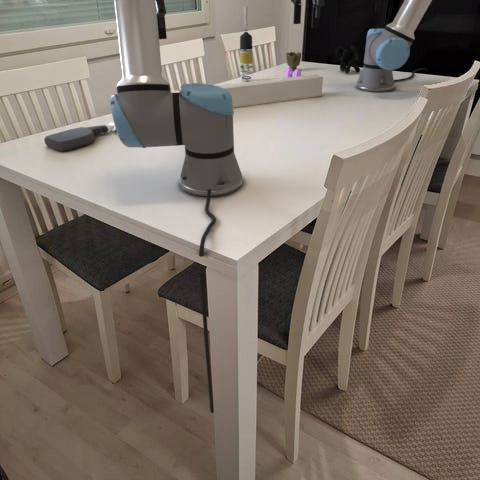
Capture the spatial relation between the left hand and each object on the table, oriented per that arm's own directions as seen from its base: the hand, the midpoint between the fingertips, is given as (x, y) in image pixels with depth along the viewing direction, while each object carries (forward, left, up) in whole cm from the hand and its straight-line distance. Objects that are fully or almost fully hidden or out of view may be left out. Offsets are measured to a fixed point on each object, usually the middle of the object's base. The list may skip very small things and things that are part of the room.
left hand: (157, 36), depth 148 cm
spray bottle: (-31, +11, -26) cm, 42 cm away
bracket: (+59, -35, -26) cm, 73 cm away
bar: (+19, -21, -26) cm, 38 cm away
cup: (+86, -26, -26) cm, 93 cm away
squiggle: (+89, -53, -26) cm, 107 cm away
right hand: (+37, -42, 0) cm, 56 cm away
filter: (+58, -11, -26) cm, 64 cm away
